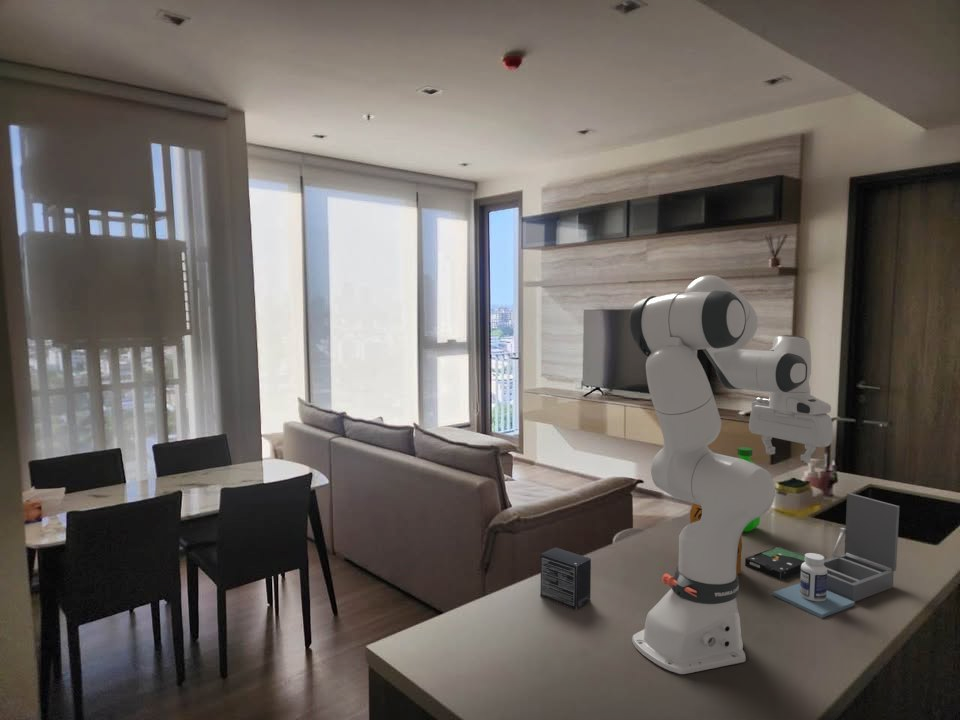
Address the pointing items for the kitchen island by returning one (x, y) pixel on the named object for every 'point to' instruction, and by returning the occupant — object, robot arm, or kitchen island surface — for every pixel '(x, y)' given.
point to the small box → (565, 577)
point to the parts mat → (817, 608)
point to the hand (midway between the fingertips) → (787, 457)
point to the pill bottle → (813, 578)
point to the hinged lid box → (865, 549)
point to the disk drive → (776, 562)
